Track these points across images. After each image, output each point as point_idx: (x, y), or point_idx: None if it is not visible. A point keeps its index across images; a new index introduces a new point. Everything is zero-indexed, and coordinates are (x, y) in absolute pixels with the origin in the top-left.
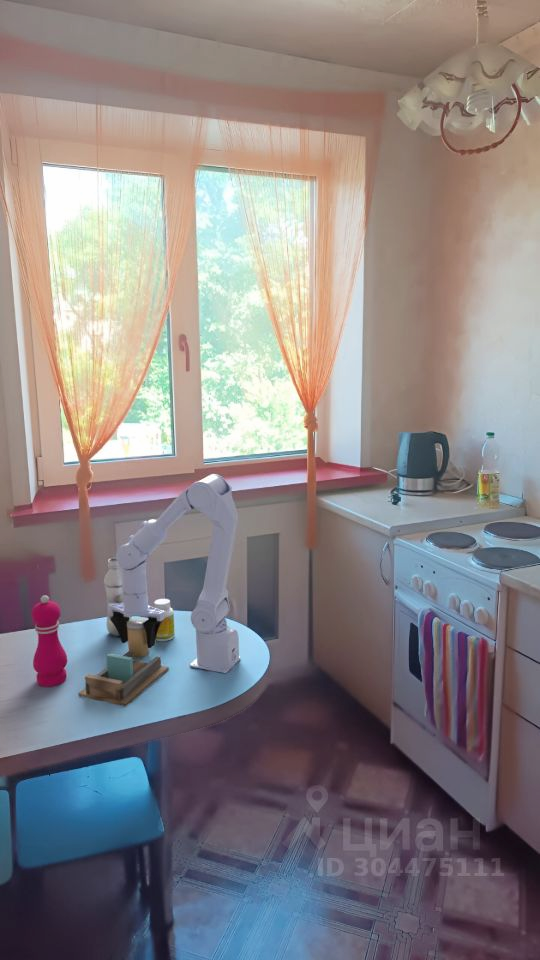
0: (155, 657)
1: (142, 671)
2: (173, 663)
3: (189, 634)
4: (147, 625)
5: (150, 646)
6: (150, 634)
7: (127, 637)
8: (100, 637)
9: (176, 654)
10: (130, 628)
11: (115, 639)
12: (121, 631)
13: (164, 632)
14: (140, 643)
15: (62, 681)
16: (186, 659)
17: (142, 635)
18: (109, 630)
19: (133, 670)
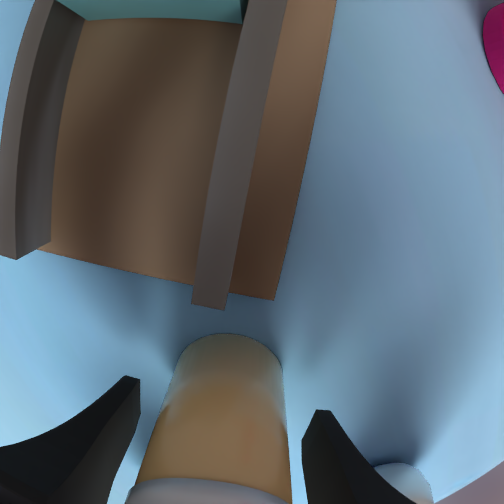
0: (13, 241)
1: (19, 49)
2: (26, 296)
3: (118, 486)
4: (9, 472)
5: (118, 381)
6: (58, 426)
7: (307, 449)
8: (440, 441)
9: (60, 373)
10: (231, 491)
11: (384, 449)
12: (339, 468)
13: None
14: (176, 397)
15: (485, 27)
16: (8, 332)
17: (151, 443)
18: (415, 473)
19: (145, 157)
